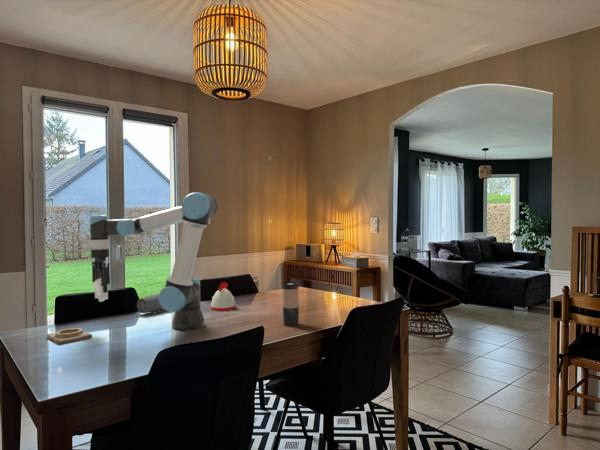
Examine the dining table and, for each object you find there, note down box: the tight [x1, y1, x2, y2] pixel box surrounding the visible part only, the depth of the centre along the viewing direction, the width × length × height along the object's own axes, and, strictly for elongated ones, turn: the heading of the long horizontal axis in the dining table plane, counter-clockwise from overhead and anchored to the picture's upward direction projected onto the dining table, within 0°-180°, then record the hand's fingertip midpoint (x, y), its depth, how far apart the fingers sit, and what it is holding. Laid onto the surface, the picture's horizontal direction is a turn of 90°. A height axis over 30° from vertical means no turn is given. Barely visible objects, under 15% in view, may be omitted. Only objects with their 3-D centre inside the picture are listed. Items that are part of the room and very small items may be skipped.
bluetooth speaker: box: [136, 293, 165, 314], centre depth 239 cm, size 23×9×10 cm, turn 148°
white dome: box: [210, 281, 236, 312], centre depth 244 cm, size 14×14×15 cm
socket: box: [46, 327, 93, 346], centre depth 186 cm, size 16×13×3 cm
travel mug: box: [282, 281, 300, 327], centre depth 204 cm, size 8×8×20 cm
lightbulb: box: [92, 278, 110, 303], centre depth 195 cm, size 6×6×11 cm
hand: (101, 298), depth 196 cm, fingers closed on lightbulb, 6 cm apart
